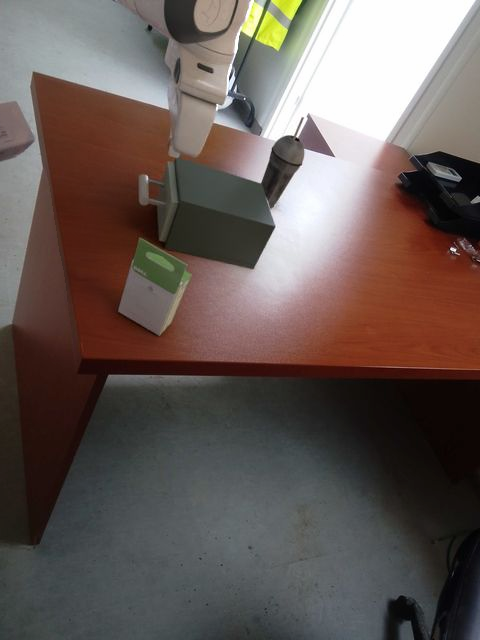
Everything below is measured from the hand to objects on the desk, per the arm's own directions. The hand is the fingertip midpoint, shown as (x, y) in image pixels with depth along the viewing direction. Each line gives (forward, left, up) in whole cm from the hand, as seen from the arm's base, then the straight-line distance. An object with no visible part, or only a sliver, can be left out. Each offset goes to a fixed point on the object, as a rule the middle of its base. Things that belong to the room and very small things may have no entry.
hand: (172, 152), depth 72 cm
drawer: (+6, 0, -13) cm, 14 cm away
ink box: (-2, -24, -14) cm, 28 cm away
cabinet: (+10, 0, -14) cm, 17 cm away
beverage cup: (+26, +19, -14) cm, 35 cm away
